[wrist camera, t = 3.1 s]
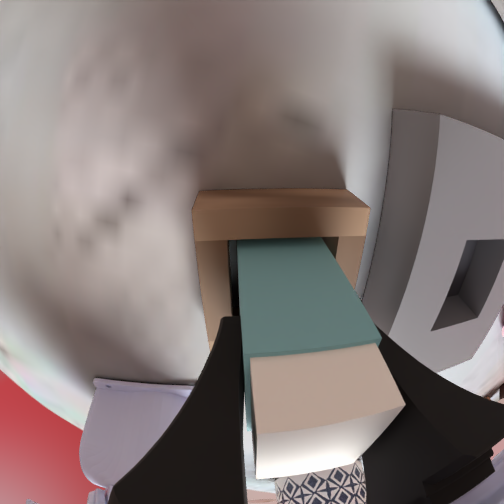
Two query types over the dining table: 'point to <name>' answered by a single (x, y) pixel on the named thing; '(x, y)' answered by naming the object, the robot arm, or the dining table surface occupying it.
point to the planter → (324, 486)
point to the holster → (502, 391)
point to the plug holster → (270, 233)
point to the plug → (308, 360)
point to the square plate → (499, 7)
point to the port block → (439, 239)
